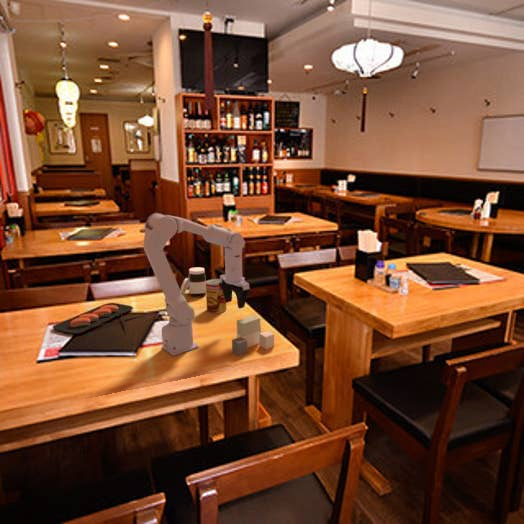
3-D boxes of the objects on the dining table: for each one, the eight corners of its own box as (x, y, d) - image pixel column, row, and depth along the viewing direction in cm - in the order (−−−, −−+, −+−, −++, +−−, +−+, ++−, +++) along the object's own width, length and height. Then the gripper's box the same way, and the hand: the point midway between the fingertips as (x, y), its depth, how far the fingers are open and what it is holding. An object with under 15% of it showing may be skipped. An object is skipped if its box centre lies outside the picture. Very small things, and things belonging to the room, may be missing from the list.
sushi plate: (110, 306, 175) (109, 297, 174) (166, 317, 162) (166, 308, 161) (49, 332, 150) (48, 322, 149) (110, 347, 137) (109, 337, 136)
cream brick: (243, 349, 133) (243, 336, 132) (237, 345, 136) (237, 333, 135) (260, 342, 138) (260, 330, 137) (254, 339, 140) (253, 327, 139)
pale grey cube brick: (266, 349, 133) (266, 337, 132) (259, 346, 136) (259, 333, 134) (274, 346, 135) (274, 334, 134) (267, 343, 138) (267, 330, 136)
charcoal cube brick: (238, 356, 129) (238, 343, 128) (232, 352, 131) (231, 339, 130) (247, 353, 131) (247, 340, 130) (241, 349, 133) (240, 336, 132)
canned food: (203, 310, 167) (201, 282, 164) (216, 305, 173) (215, 277, 170) (217, 314, 162) (216, 285, 159) (230, 309, 168) (229, 280, 165)
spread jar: (207, 296, 183) (207, 271, 180) (182, 299, 180) (180, 273, 177) (204, 288, 195) (203, 264, 192) (179, 290, 192) (178, 266, 189)
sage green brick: (253, 327, 139) (253, 315, 138) (260, 330, 137) (260, 318, 136) (237, 333, 135) (236, 320, 134) (243, 336, 132) (243, 323, 131)
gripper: (256, 269, 137) (256, 307, 140) (231, 261, 148) (232, 296, 151) (238, 273, 133) (240, 312, 136) (214, 264, 144) (216, 301, 147)
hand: (234, 304), depth 143 cm, fingers open, 7 cm apart
